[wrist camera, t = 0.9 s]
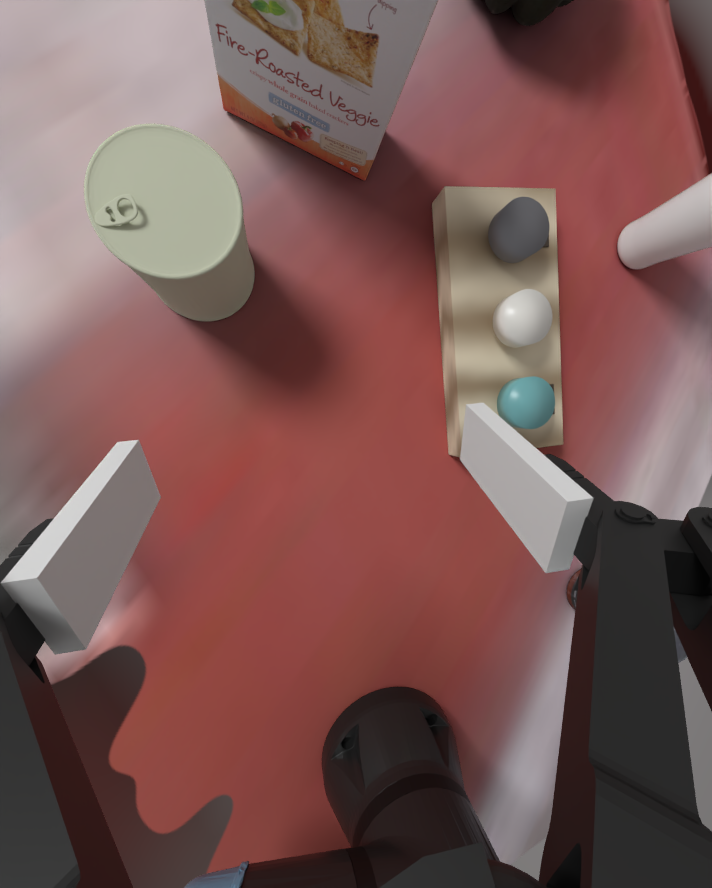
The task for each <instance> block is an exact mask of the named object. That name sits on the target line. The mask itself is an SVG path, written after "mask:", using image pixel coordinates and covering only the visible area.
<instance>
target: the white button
mask: <svg viewBox="0 0 712 888" xmlns="http://www.w3.org/2000/svg"><path fill="white" fill-rule="evenodd" d="M551 324H552V309H551V306H550V303H549V301H548V300H547V298H546V297H545V296H544V295H543V294H542V293H540V292H539V291H536V290H533V289H524V290H521V291H519V292H517V293H515V294H512V295H510V296H508V297H506V298H505V299H503V300H502V301H501V302H500V303H499V304H498V305H497V307H496V309H495V311H494V314H493V329H494V332H495V334H496V336H497V338H498V339H499V340H500V341H501V342H502V343H503V344H504V345H506V346H509V347H513V348H518V347H522V346H526V345H530V344H534V343H537V342H539V341H541V340H542V339H543V338H544V337H545V336H546V335H547V333H548V332H549V330H550V327H551Z"/></svg>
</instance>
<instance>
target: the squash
mask: <svg viewBox="0 0 712 888" xmlns="http://www.w3.org/2000/svg"><path fill="white" fill-rule="evenodd" d="M572 1H573V0H485V2H486V4H487V7H488V8H489V10H490V12H491V13H494V14H499V13H502V12H504V11H506V10H508V9H509V8H510V7H511V6H512V12H513V15H514V18H515V19H516V21H517V22H518V23H520V24H521V25H525V26H531V25H535V24H537V23H539V22H541V21H542V20H543V19H544V18H546V17H547V16H548V15H549V14H551V13H552V12H553V11H554V9H555V8H556V7H561V6H564V5H567V4H569V3H570V2H572Z"/></svg>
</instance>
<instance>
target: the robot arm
mask: <svg viewBox="0 0 712 888" xmlns="http://www.w3.org/2000/svg"><path fill="white" fill-rule="evenodd" d="M460 460H461V462H462V463H463V464H464V466H465V467H466V468H467V470H468V471H469V472H470V474H471V475H472V476H473V478H474V479H475V480H476V482H477V483H478V484H479V486H480V487H481V488H482V489H483V491H484V492H485V493H486V495H487V496H488V497H489V499H490V500H491V501H492V503H493V504H494V505H495V507H496V508H497V509H498V511H499V512H500V513H501V515H502V516H503V517H504V519H505V520H506V521H507V523H508V524H509V525H510V526H511V528H512V529H513V530H514V532H515V533H516V534H517V536H518V537H519V538H520V540H521V541H522V542H523V544H524V545H525V546H526V548H527V549H528V550H529V552H530V553H531V554H532V556H533V557H534V558H535V559H536V561H537V562H538V563H539V565H540V566H541V567H542V569H543V570H544V571H545V573H550V572H556V571H562V570H568V569H569V568H570V565H571V562H572V559H573V556H574V555H575V556H576V557H577V558H578V559H579V561H580V562H581V563H582V564H583V565H582V568H581V571H580V574H579V576H578V579H577V582H576V585H575V587H574V590H575V591H578V593H577V601H576V610H575V618H574V627H573V636H572V644H571V653H570V662H569V670H568V679H567V687H566V696H565V705H564V713H563V722H562V730H561V739H560V748H559V756H558V765H557V773H556V782H555V791H554V799H553V808H552V815H551V822H550V827H549V831H548V835H547V838H546V842H545V846H544V851H543V856H542V862H541V869H540V875H539V881H537V880H536V879H534V878H533V877H532V876H530V875H528V874H527V873H525V872H523V871H521V870H519V869H517V868H515V867H513V866H511V865H508V864H505V863H502V862H500V861H499V859H498V857H497V855H496V853H495V851H494V849H493V847H492V845H491V843H490V841H489V839H488V837H487V835H486V833H485V831H484V829H483V827H482V825H481V823H480V821H479V819H478V817H477V815H476V813H475V811H474V809H473V807H472V805H471V803H470V801H469V799H468V797H467V795H466V792H465V789H464V784H463V778H462V773H461V767H460V762H459V756H458V751H457V745H456V740H455V736H454V733H453V731H452V728H451V726H450V724H449V722H448V720H447V718H446V717H445V715H444V713H443V711H442V709H441V708H440V706H439V705H438V704H437V703H436V702H435V701H434V700H433V699H432V698H431V697H430V696H428V695H427V694H425V693H423V692H421V691H419V690H416V689H412V688H407V687H390V688H384V689H380V690H377V691H374V692H371V693H369V694H367V695H365V696H363V697H361V698H360V699H358V700H357V701H355V702H354V703H353V704H351V705H350V706H349V707H348V708H347V709H346V710H345V711H344V712H343V713H342V714H341V715H340V716H339V717H338V719H337V720H336V721H335V723H334V724H333V726H332V727H331V729H330V731H329V733H328V735H327V738H326V740H325V743H324V747H323V752H322V771H323V779H324V786H325V791H326V795H327V798H328V801H329V803H330V805H331V807H332V809H333V811H334V813H335V815H336V817H337V819H338V821H339V823H340V825H341V827H342V829H343V831H344V833H345V835H346V837H347V840H348V842H349V844H350V846H351V848H348V849H339V850H332V851H326V852H320V853H314V854H308V855H302V856H295V857H289V858H283V859H277V860H271V861H264V862H258V863H252V864H249V861H247V862H242V863H241V865H240V866H238V867H234V868H229V869H225V870H221V871H216V872H212V873H208V874H204V875H201V876H198V877H196V878H194V879H193V880H191V881H190V882H189V883H188V884H187V885H186V886H185V887H184V888H712V832H711V831H710V830H709V829H708V828H707V827H706V826H704V825H703V824H702V822H701V820H700V818H699V815H698V810H697V805H696V797H695V789H694V782H693V774H692V766H691V758H690V750H689V742H688V735H687V727H686V719H685V711H684V704H683V696H682V689H681V680H680V672H679V665H678V657H677V649H676V641H675V634H674V628H675V631H676V633H677V635H678V637H679V639H680V642H681V644H682V646H683V648H684V651H685V653H686V655H687V657H688V659H689V662H690V664H691V666H692V668H693V671H694V673H695V675H696V677H697V680H698V682H699V684H700V686H701V688H702V691H703V693H704V695H705V697H706V700H707V702H708V704H709V706H710V708H711V711H712V508H706V507H696V508H692V509H690V510H689V512H688V513H687V515H686V517H685V519H684V521H679V520H667V519H658V518H657V517H656V516H655V515H654V514H653V513H652V512H651V511H649V510H647V509H645V508H643V507H642V506H639V505H636V504H633V503H629V502H623V501H613V500H612V499H611V498H610V497H608V496H607V495H606V494H605V493H604V492H602V491H601V490H600V489H599V488H597V487H596V486H595V485H594V484H593V483H591V482H590V481H589V480H588V479H586V478H584V476H583V475H582V474H580V473H579V472H578V471H575V469H574V468H573V467H572V466H571V465H569V464H568V463H567V462H566V461H564V460H562V459H560V458H558V457H556V456H554V455H552V454H547V455H543V454H542V453H541V452H540V451H539V450H538V449H536V448H535V447H534V446H533V445H532V444H531V443H529V442H528V441H527V440H526V439H525V438H524V437H522V436H521V435H520V434H519V433H518V432H517V431H516V430H514V429H513V428H512V427H511V426H510V425H509V424H507V423H506V422H505V421H504V420H503V419H502V418H501V417H499V416H498V415H497V414H496V413H495V412H494V411H492V410H491V409H490V408H489V407H488V406H487V405H486V404H484V403H474V404H466V409H465V418H464V427H463V436H462V445H461V454H460ZM160 498H161V496H160V494H159V491H158V489H157V486H156V483H155V481H154V478H153V476H152V473H151V470H150V468H149V465H148V463H147V460H146V457H145V455H144V452H143V450H142V447H141V444H140V442H139V440H133V441H124V442H117V443H116V445H115V446H114V447H113V448H112V449H111V451H110V452H109V453H108V454H107V455H106V457H105V458H104V459H103V460H102V461H101V463H100V464H99V465H98V466H97V467H96V469H95V470H94V471H93V472H92V474H91V475H90V476H89V477H88V478H87V480H86V481H85V482H84V483H83V484H82V486H81V487H80V488H79V489H78V490H77V492H76V493H75V494H74V495H73V496H72V498H71V499H70V500H69V501H68V502H67V504H66V505H65V506H64V507H63V508H62V510H61V511H60V512H59V513H58V514H57V516H56V517H55V518H53V519H47V520H45V521H44V522H42V523H41V524H40V525H38V526H37V527H36V528H34V529H33V530H31V531H30V532H29V533H28V534H27V535H26V537H25V538H24V539H23V540H22V541H21V542H20V543H19V545H18V547H16V548H15V549H14V550H13V551H12V552H11V554H10V555H9V558H8V559H5V560H4V562H3V563H2V564H1V565H0V888H133V886H132V884H131V881H130V879H129V877H128V874H127V872H126V869H125V867H124V864H123V862H122V859H121V857H120V855H119V852H118V849H117V847H116V844H115V842H114V840H113V837H112V835H111V832H110V830H109V827H108V825H107V822H106V820H105V817H104V815H103V812H102V810H101V807H100V805H99V803H98V800H97V798H96V795H95V793H94V790H93V788H92V785H91V783H90V780H89V778H88V775H87V773H86V771H85V768H84V766H83V763H82V761H81V758H80V756H79V753H78V751H77V748H76V746H75V743H74V741H73V739H72V736H71V734H70V731H69V729H68V726H67V724H66V721H65V719H64V716H63V714H62V712H61V709H60V707H59V704H58V702H57V699H56V697H55V694H54V692H53V689H52V687H51V684H50V682H49V679H48V677H47V675H46V672H45V670H44V667H43V665H42V663H41V661H40V660H39V659H38V658H37V656H36V654H37V653H38V651H39V649H40V648H41V646H42V644H43V643H44V641H45V642H46V643H47V645H48V646H49V647H50V649H51V650H52V651H53V653H54V654H61V653H67V652H73V651H79V650H85V649H86V648H87V646H88V644H89V642H90V640H91V638H92V636H93V634H94V632H95V630H96V628H97V626H98V624H99V622H100V620H101V618H102V616H103V614H104V612H105V610H106V608H107V606H108V604H109V602H110V600H111V598H112V596H113V593H114V591H115V589H116V587H117V585H118V583H119V581H120V579H121V577H122V575H123V573H124V571H125V569H126V567H127V565H128V563H129V561H130V559H131V557H132V555H133V553H134V551H135V549H136V547H137V545H138V543H139V541H140V539H141V536H142V534H143V532H144V530H145V528H146V526H147V524H148V522H149V520H150V518H151V516H152V514H153V512H154V510H155V508H156V506H157V504H158V502H159V500H160Z"/></svg>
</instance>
